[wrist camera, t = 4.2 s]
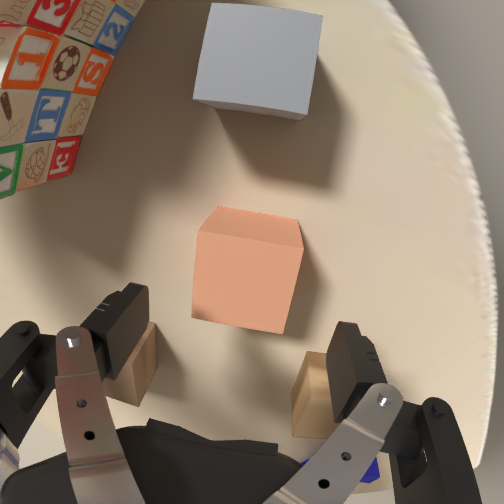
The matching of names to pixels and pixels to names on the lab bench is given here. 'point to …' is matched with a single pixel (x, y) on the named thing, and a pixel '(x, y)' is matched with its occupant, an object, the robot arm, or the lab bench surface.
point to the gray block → (258, 60)
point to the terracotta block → (246, 269)
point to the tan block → (135, 371)
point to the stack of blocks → (52, 81)
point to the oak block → (312, 400)
